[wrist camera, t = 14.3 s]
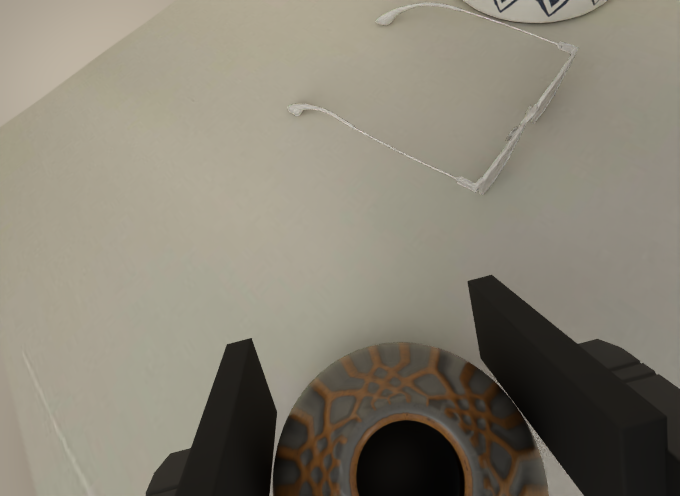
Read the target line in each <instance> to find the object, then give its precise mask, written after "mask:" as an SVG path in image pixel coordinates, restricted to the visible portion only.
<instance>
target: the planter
mask: <svg viewBox="0 0 680 496" xmlns="http://www.w3.org/2000/svg"><path fill="white" fill-rule="evenodd" d="M463 1H464V2H465V3H467V4H468V5H470V6H471V7H473V8H474V9H476V10H478V11H480V12H482V13H485V14H487V15H490V16H493V17H496V18H499V19H503V20H508V21H513V22H522V23H547V22H556V21H562V20H567V19H571V18H574V17H578V16H581V15H583V14H586V13H588V12H590V11H592V10H594V9H596V8H597V7H599V6H601V5H602V4H604V3H605V2H606V1H607V0H463Z"/></svg>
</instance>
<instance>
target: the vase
mask: <svg viewBox="0 0 680 496" xmlns="http://www.w3.org/2000/svg"><path fill="white" fill-rule="evenodd" d="M273 496H549V494H548V485H547V479H546V474H545V469H544V466H543V462H542V458H541V455H540V452H539V449H538V446H537V444H536V442H535V439H534V437H533V435H532V433H531V431H530V429H529V427H528V425H527V423H526V421H525V420H524V418H523V416H522V414H521V413H520V411H519V410H518V409H517V407H516V406H515V404H514V403H513V402H512V400H511V399H510V398H509V397H508V395H507V394H506V393H505V392H504V391H503V390H502V389H501V388H500V387H499V386H498V385H497V384H496V383H495V382H494V381H493V380H492V379H491V378H490V377H489V376H487V375H486V374H485V373H484V372H482V371H481V370H480V369H478V368H477V367H476V366H474V365H472V364H471V363H469V362H468V361H466V360H464V359H462V358H460V357H459V356H456V355H454V354H452V353H450V352H447V351H445V350H442V349H439V348H435V347H432V346H428V345H423V344H416V343H404V342H399V343H385V344H379V345H374V346H370V347H366V348H363V349H360V350H357V351H355V352H353V353H350V354H348V355H346V356H344V357H343V358H341V359H339V360H337V361H336V362H334V363H333V364H331V365H330V366H329V367H327V368H326V369H325V370H324V371H322V372H321V373H320V374H319V375H318V376H317V377H316V378H315V379H314V380H313V381H312V382H311V383H310V384H309V385H308V387H307V388H306V389H305V390H304V391H303V393H302V394H301V396H300V397H299V398H298V400H297V402H296V403H295V405H294V406H293V408H292V410H291V412H290V414H289V416H288V418H287V420H286V423H285V425H284V427H283V430H282V433H281V436H280V439H279V443H278V446H277V451H276V456H275V462H274V469H273Z"/></svg>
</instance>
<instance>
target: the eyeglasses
mask: <svg viewBox="0 0 680 496" xmlns="http://www.w3.org/2000/svg"><path fill="white" fill-rule="evenodd" d="M419 6H440V7H446V8H450V9H453V10H457V11H463V12H467V13H470V14H473V15H476V16H479V17H482V18H485V19H488V20H491V21H494V22H497V23H500V24H503V25H505V26H508V27H511V28H514V29H516V30H519V31H522V32H524V33H527V34H530V35H532V36H535V37H538V38H540V39H543V40H545V41H548V42H550V43H553V44H555V45H557V46H558V49H560V50H563V51H566V52H569V53H571V54H570V57H569V59H568V60H567V62H566V63H565V65H564V66H563V68H562V69H561V70H560V72H559V73H558V75H557V76H556V77H555V79H554V80H553V81H552V83H551V84H550V85H549V87H548V88H547V89H546V91H545V92H544V94H543V95H542V96H541V98H540V99H539V101H538V103H537V104H534V105H533V107H532V108H531V105H530V106H529V108H528V109H527V111H526V114H525V118H524V119H523V120H522V122H521V123H520V127H519V128H518V127H514V128H513V129H512V131H511V132H510V134H509V135H508V137H507V138H506V141H508V140H510V139H511V140H510V141H509V142H508V144H507V145H506V146H505V148H504V149H503V150H502V152H501V153H500V154H499V156H498V157H497V158H496V159H495V161H494V162H493V163H492V165H491V166H490V167H489V169H488V170H487V171H486V173H485V174H484V176H483V178H482V176H481V178H480V179H479V180H478V181H477V182H476V183H473V182H471V181H469V180H467V179H465V178H463V177H461V176H460V177H454V176H452V175H450V174H448V173H446V172H444V171H441V170H439V169H437V168H435V167H433V166H431V165H428V164H426V163H424V162H422V161H420V160H418V159H416V158H413V157H411V156H409V155H407V154H405V153H403V152H401V151H399V150H397V149H395V148H393V147H391V146H389V145H387V144H386V143H384V142H382V141H380V140H378V139H376V138H374V137H372V136H370V135H368V134H366V133H365V132H363V131H361V130H359V129H357V128H356V127H355V126H354V125H352V124H351V123H349V122H347V121H346V120H344V119H342V118H341V117H339V116H338V115H336V114H335V113H333V112H331V111H329V110H327V109H324V108H321V107H319V106H315V105H310V104H303V103H300V104H297V103H296V104H291V105H289V106H288V111H289V112H290V113H292V114H294V115H295V116H299V115H300V114H301V113H302V111H303V110H307V109H313V110H319V111H322V112H325V113H327V114H329V115H331V116H333V117H335V118H336V119H338V120H340V121H341V122H343V123H344V124H346V125H348V126H349V127H351V128H352V129H356V130H357V131H359V132H361V133H363V134H365V135H366V136H368V137H370V138H372V139H374V140H376V141H378V142H380V143H382V144H384V145H385V146H387V147H389V148H391V149H393V150H395V151H397V152H399V153H401V154H403V155H405V156H407V157H409V158H411V159H413V160H415V161H418V162H420V163H422V164H424V165H426V166H428V167H431V168H433V169H435V170H437V171H439V172H441V173H443V174H446V175H448V176H450V177H452V178H454V179H456V181H457V183H458V184H460V185H462V186H464V187H466V188H468V189H470V190H471V191H473V192H475V193H476V191H477V190H478V192H479V193H480V194H481V195H483V194H484V193H485V192H486V191H487V190H488V189H489V188H490V186H491V185H492V184H493V183H494V181H495V180H496V178H497V177H498V175H499V174H500V172H501V171H502V169H503V168H504V166H505V164H506V163H507V161H508V159H509V157H510V155H511V153H512V152H513V150H514V148H515V146H516V144H517V142H518V140H519V138H520V136H521V134H522V132H523V130H524V128H525V124H526V123H527V122H528V121H529V120H530V119H531V123H533V124H534V123H535V122H536V121H537V120H538V119H539V117H540V116H541V115H542V114H543V112H544V111H545V109H546V108H547V106H548V104H549V103H550V101H551V100H552V98H553V96H554V95H555V93H556V91H557V89H558V87H559V86H560V84H561V82H562V80H563V78H564V76H565V74H566V72H567V71H568V69H569V67H570V65H571V63H572V61H573V59H574V57H575V54H576V52H577V50H578V48H579V47H577V46H574V45H571V44H568V43H565V42H562V41H561V42H560V43H556V42H553V41H551V40H548V39H545V38H543V37H540V36H537V35H535V34H532V33H530V32H527V31H524V30H522V29H519V28H516V27H513V26H511V25H508V24H505V23H502V22H499V21H496V20H493V19H490V18H487V17H484V16H481V15H478V14H475V13H472V12H469V11H466V10H463V9H462V8H458V7H455V6H451V5H447V4H441V3H416V4H410V5H406V6H402V7H398V8H396V9H393V10H391V11H388V12H387V13H385V14H383V15H381V16H380V17H378V18H377V19H376V23H377V24H380V25H389V24H390V23H391V22H392V21H393V20H394V18H395V17H396V16H397V15H398V14H400V13H402V12H404V11H406V10H408V9H411V8H415V7H419Z"/></svg>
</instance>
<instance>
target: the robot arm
mask: <svg viewBox="0 0 680 496" xmlns="http://www.w3.org/2000/svg"><path fill="white" fill-rule="evenodd" d="M468 287H469V293H470V299H471V305H472V310H473V316H474V322H475V328H476V334H477V340H478V345H479V351H480V357H481V359H482V361H483V362H484V363H485V365H486V366H487V367H488V369H489V370H490V371H491V373H492V374H493V375H494V377H495V378H496V379H497V381H498V382H499V383H500V385H501V386H502V387H503V389H504V390H505V391H506V392H507V394H508V395H509V396H510V398H511V399H512V400H513V402H514V403H515V404H516V406H517V407H518V408H519V410H520V411H521V412H522V414H523V415H524V416H525V418H526V419H527V420H528V422H529V423H530V424H531V426H532V427H533V428H534V430H535V431H536V432H537V434H538V435H539V436H540V438H541V439H542V440H543V442H544V443H545V444H546V446H547V447H548V448H549V450H550V451H551V452H552V454H553V455H554V456H555V458H556V459H557V460H558V462H559V463H560V464H561V466H562V467H563V468H564V470H565V471H566V472H567V474H568V475H569V476H570V478H571V479H572V480H573V482H574V483H575V484H576V486H577V487H578V488H579V490H580V491H581V492H582V494H583V495H584V496H680V389H679V388H678V387H676V386H675V385H673V384H672V383H671V382H669V381H668V380H666V379H665V378H663V377H662V376H661V375H659V374H658V375H656V373H655V371H654V370H652V369H651V368H649V367H648V366H646V365H645V364H644V363H642V364H641V363H640V361H639V360H638V359H637V358H635V357H634V356H632V355H631V354H630V353H628V352H627V351H625V350H624V349H622V348H621V347H618V346H615V345H613V344H610V343H607V342H604V341H602V340H599V339H596V340H592V341H588V342H584V343H580V344H577V343H575V342H574V341H573V340H572V339H571V338H569V337H568V336H567V335H566V334H564V333H563V332H562V331H561V330H559V329H558V328H557V327H556V326H554V325H553V324H552V323H551V322H549V321H548V320H547V319H546V318H545V317H543V316H542V315H541V314H540V313H538V312H537V311H536V310H535V309H533V308H532V307H531V306H530V305H528V304H527V303H526V302H525V301H523V300H522V299H521V298H520V297H519V296H517V295H516V294H515V293H514V292H512V291H511V290H510V289H509V288H507V287H506V286H505V285H504V284H502V283H501V282H500V281H499V280H497V279H496V278H495V277H494V276H493V275H489V276H485V277H482V278H478V279H474V280H470V281H468ZM276 418H277V411H276V408H275V405H274V402H273V399H272V396H271V393H270V390H269V387H268V384H267V382H266V379H265V376H264V373H263V370H262V367H261V364H260V361H259V358H258V356H257V353H256V350H255V347H254V344H253V341H252V338H250V339H246V340H242V341H238V342H235V343H231V344H227V346H226V349H225V352H224V355H223V358H222V360H221V363H220V366H219V369H218V372H217V375H216V378H215V381H214V383H213V386H212V389H211V392H210V395H209V398H208V401H207V404H206V406H205V409H204V412H203V415H202V418H201V421H200V424H199V427H198V430H197V432H196V435H195V438H194V441H193V444H192V447H191V448H190V449H186V450H182V451H179V452H175V453H171V454H170V455H169V456H168V457H167V458H166V459H165V461H164V462H163V463H162V464H161V466H160V467H159V468H158V469H157V470H156V472H155V473H154V475H153V477H152V480H151V482H150V484H149V487H148V489H147V491H146V496H269V493H270V483H271V472H272V461H273V450H274V439H275V429H276Z"/></svg>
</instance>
